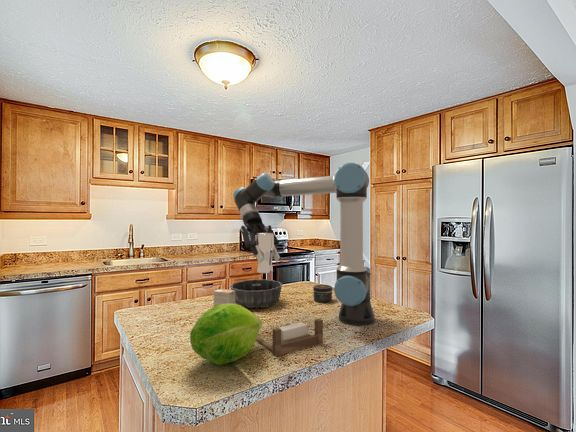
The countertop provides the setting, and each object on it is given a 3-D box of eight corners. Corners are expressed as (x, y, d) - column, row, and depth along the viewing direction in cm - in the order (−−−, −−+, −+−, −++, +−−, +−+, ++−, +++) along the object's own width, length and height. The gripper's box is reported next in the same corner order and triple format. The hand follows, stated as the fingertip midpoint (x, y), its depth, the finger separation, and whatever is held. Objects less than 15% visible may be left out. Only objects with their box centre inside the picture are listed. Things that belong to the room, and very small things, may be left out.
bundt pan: (241, 315, 142) (241, 292, 142) (223, 301, 165) (223, 282, 165) (291, 306, 155) (291, 286, 155) (268, 295, 178) (268, 277, 178)
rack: (246, 337, 115) (246, 312, 115) (289, 328, 125) (289, 305, 125) (275, 359, 97) (275, 330, 97) (322, 346, 107) (322, 320, 107)
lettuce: (279, 357, 99) (279, 302, 99) (207, 386, 82) (207, 320, 82) (245, 340, 112) (245, 292, 112) (177, 362, 95) (177, 306, 95)
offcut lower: (274, 346, 104) (274, 337, 104) (303, 338, 111) (303, 330, 111) (280, 350, 101) (280, 341, 101) (310, 342, 107) (310, 333, 107)
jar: (333, 303, 160) (333, 288, 160) (313, 303, 161) (313, 288, 161) (331, 298, 170) (331, 284, 170) (312, 298, 171) (312, 284, 171)
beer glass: (271, 273, 118) (271, 234, 118) (253, 273, 119) (253, 233, 119) (275, 270, 125) (275, 232, 125) (258, 269, 126) (258, 232, 126)
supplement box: (236, 321, 133) (236, 290, 133) (229, 324, 129) (229, 292, 129) (220, 318, 137) (220, 288, 137) (213, 321, 132) (213, 290, 132)
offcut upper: (277, 336, 104) (277, 327, 104) (300, 330, 110) (300, 322, 110) (283, 340, 101) (283, 331, 101) (307, 333, 107) (307, 324, 107)
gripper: (267, 223, 140) (287, 264, 127) (226, 223, 130) (243, 268, 116) (274, 211, 136) (294, 252, 122) (231, 210, 125) (249, 255, 111)
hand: (269, 260), depth 119 cm, fingers closed on beer glass, 7 cm apart
